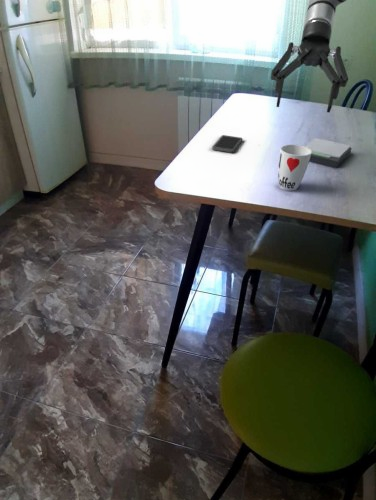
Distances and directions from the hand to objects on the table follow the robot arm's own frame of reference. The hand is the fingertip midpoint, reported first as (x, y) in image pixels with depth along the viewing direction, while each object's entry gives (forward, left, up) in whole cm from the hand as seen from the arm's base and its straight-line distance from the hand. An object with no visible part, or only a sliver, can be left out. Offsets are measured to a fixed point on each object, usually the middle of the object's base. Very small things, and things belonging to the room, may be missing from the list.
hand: (303, 106), depth 110 cm
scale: (-4, -20, -18) cm, 27 cm away
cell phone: (+26, -9, -18) cm, 33 cm away
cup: (-4, +10, -18) cm, 21 cm away
